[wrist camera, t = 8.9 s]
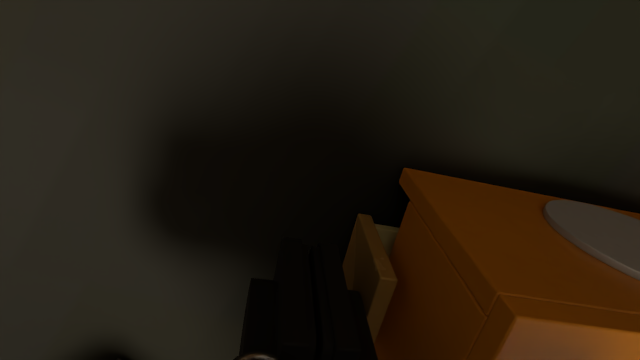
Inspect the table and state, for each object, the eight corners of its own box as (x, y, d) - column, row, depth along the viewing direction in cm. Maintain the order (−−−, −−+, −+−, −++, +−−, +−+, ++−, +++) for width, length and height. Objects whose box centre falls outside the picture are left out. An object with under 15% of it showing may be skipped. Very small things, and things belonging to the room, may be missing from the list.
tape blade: (335, 286, 14) (349, 366, 11) (357, 212, 13) (380, 277, 10) (609, 325, 16) (690, 402, 13) (650, 263, 15) (750, 332, 12)
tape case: (349, 325, 15) (393, 545, 9) (404, 161, 13) (521, 307, 6) (604, 356, 17) (789, 557, 11) (698, 219, 15) (1014, 377, 8)
